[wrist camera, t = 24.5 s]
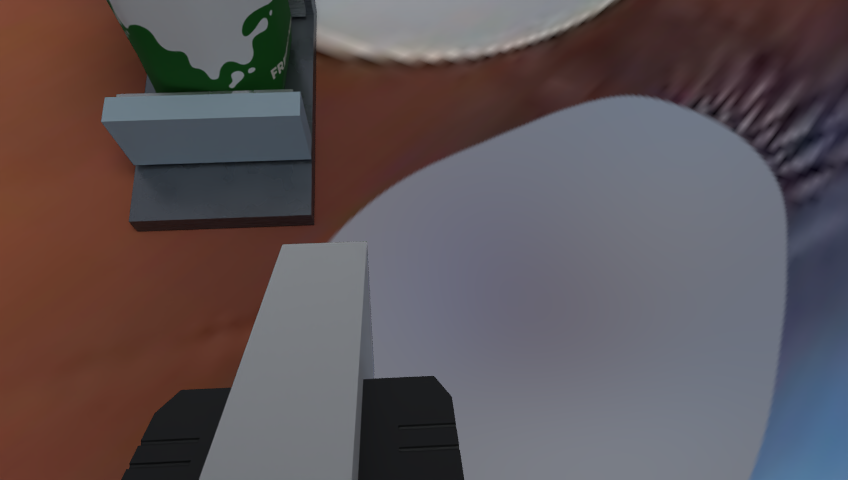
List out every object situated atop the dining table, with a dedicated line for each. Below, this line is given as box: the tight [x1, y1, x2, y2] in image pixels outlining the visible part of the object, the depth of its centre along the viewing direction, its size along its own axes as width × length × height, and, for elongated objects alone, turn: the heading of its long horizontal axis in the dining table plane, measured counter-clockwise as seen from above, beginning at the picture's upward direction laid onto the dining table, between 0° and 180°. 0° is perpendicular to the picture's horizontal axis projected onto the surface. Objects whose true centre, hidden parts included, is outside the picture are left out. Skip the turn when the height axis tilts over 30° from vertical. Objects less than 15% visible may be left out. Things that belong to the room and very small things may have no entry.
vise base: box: [129, 0, 317, 231], centre depth 44 cm, size 17×11×6 cm, turn 3°
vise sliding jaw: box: [101, 89, 312, 165], centre depth 42 cm, size 2×11×5 cm, turn 93°
